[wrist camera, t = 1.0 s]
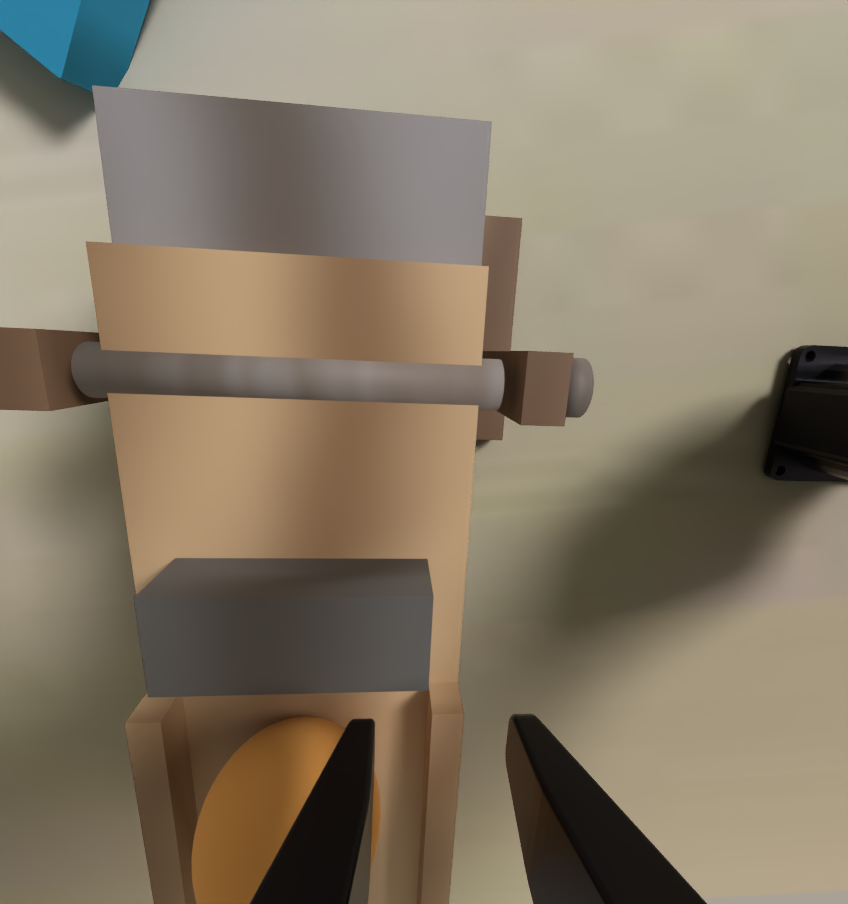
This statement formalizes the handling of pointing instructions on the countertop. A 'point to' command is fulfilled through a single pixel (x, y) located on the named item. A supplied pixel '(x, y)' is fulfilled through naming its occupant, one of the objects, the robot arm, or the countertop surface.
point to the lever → (77, 36)
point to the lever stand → (525, 372)
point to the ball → (261, 807)
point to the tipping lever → (294, 443)
